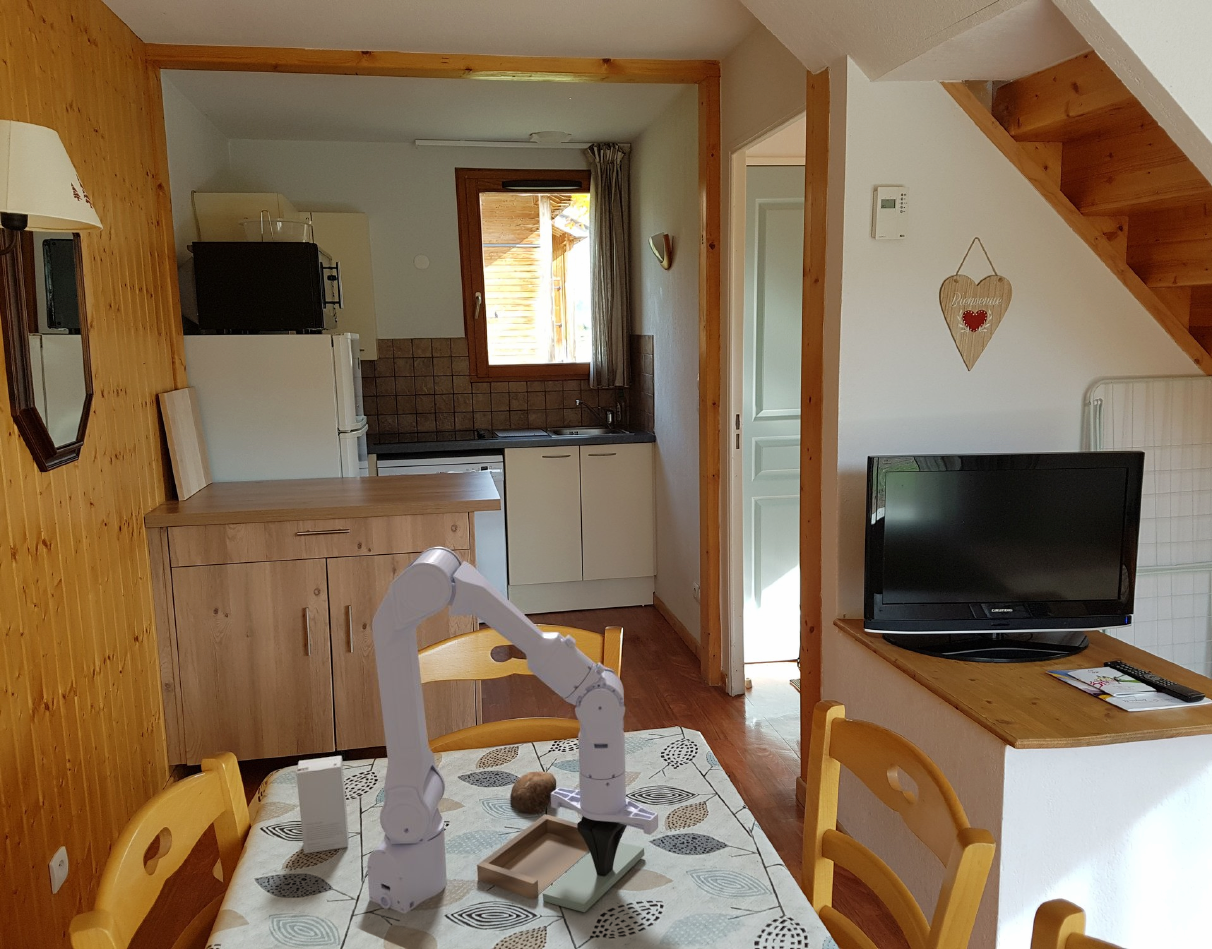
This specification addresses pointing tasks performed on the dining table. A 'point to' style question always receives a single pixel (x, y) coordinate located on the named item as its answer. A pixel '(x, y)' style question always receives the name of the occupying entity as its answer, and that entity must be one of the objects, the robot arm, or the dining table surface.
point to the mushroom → (533, 792)
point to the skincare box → (322, 804)
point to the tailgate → (591, 879)
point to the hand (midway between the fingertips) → (604, 872)
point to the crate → (534, 857)
